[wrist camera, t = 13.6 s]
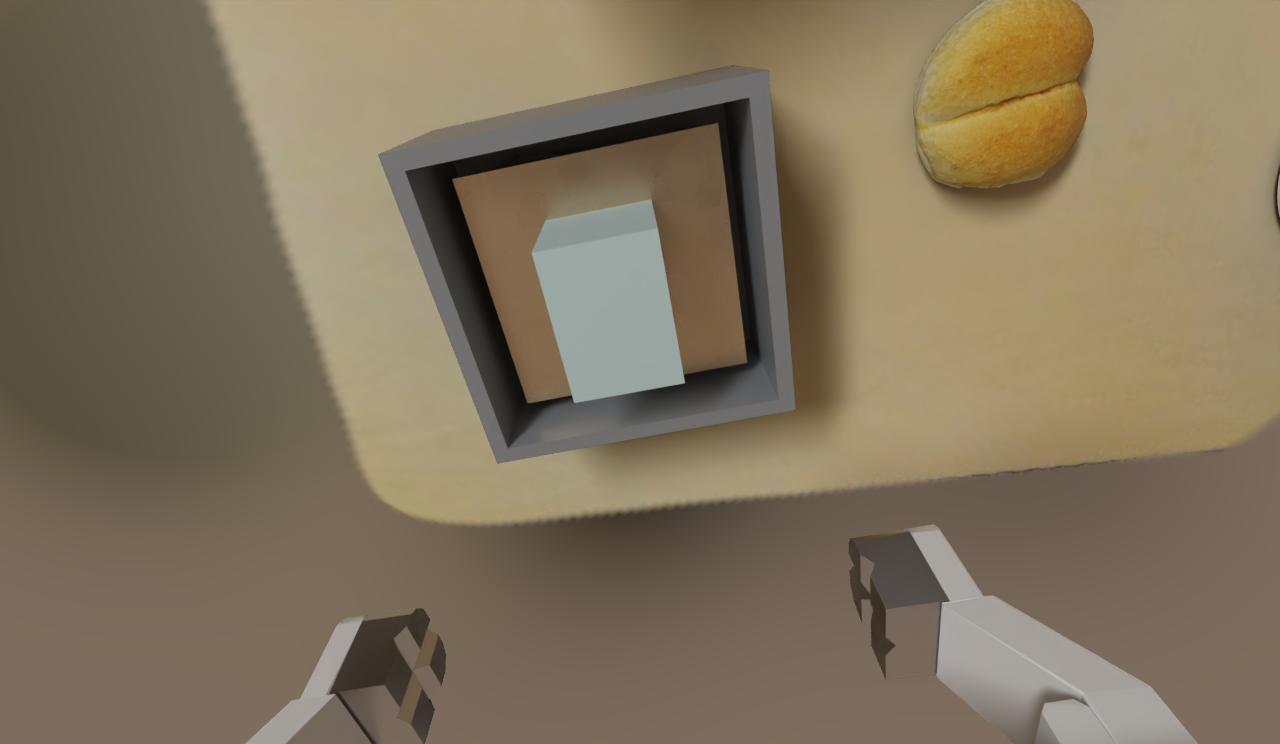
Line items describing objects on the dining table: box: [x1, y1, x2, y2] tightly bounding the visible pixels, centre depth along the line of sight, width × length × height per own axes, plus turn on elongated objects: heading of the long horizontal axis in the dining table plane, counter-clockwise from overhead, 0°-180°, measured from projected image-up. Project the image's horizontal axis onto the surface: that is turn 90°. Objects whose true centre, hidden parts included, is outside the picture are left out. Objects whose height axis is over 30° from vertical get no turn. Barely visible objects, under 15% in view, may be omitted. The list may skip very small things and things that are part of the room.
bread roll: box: [913, 0, 1094, 189], centre depth 29 cm, size 8×9×4 cm
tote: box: [378, 65, 796, 464], centre depth 30 cm, size 16×16×8 cm
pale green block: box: [532, 200, 685, 403], centre depth 27 cm, size 5×7×5 cm
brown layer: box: [452, 122, 747, 403], centre depth 31 cm, size 12×12×4 cm
